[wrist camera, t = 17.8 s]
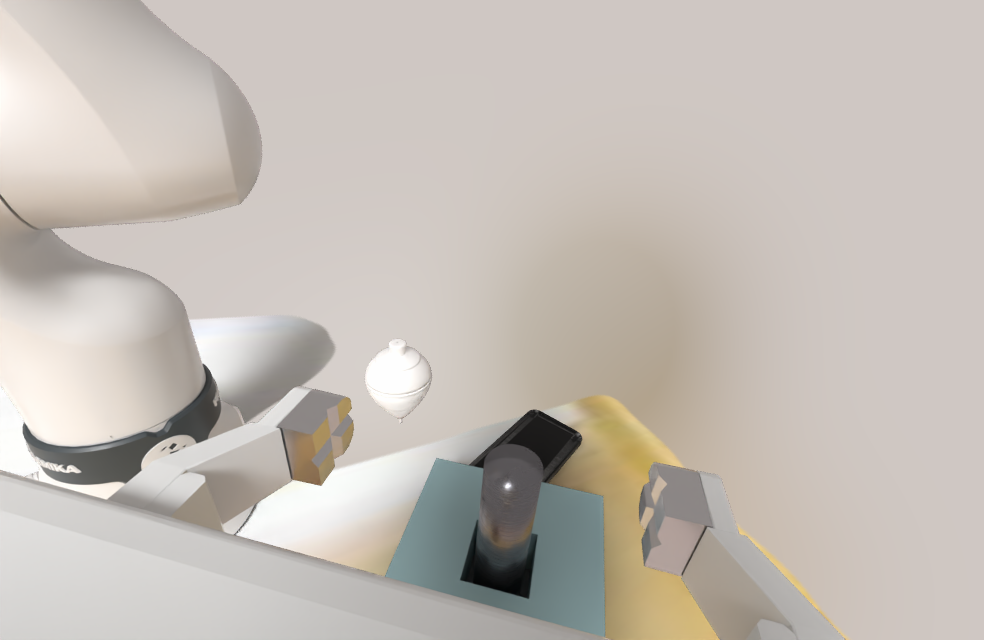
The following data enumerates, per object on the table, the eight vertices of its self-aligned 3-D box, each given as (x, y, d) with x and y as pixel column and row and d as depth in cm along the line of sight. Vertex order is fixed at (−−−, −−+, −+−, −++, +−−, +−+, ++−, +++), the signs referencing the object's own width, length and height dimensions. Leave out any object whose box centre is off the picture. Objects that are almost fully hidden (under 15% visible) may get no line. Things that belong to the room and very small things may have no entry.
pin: (462, 597, 35) (472, 470, 28) (489, 559, 38) (504, 435, 31) (502, 629, 34) (524, 502, 26) (527, 587, 36) (553, 462, 29)
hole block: (363, 682, 31) (356, 640, 28) (435, 498, 45) (436, 458, 42) (587, 754, 28) (606, 716, 25) (590, 536, 42) (603, 496, 39)
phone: (585, 435, 53) (516, 516, 43) (583, 442, 54) (515, 523, 43) (532, 406, 57) (457, 473, 47) (531, 413, 58) (457, 480, 47)
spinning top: (426, 447, 51) (426, 364, 45) (361, 443, 50) (353, 359, 44) (434, 404, 57) (435, 327, 51) (377, 400, 57) (371, 322, 51)
